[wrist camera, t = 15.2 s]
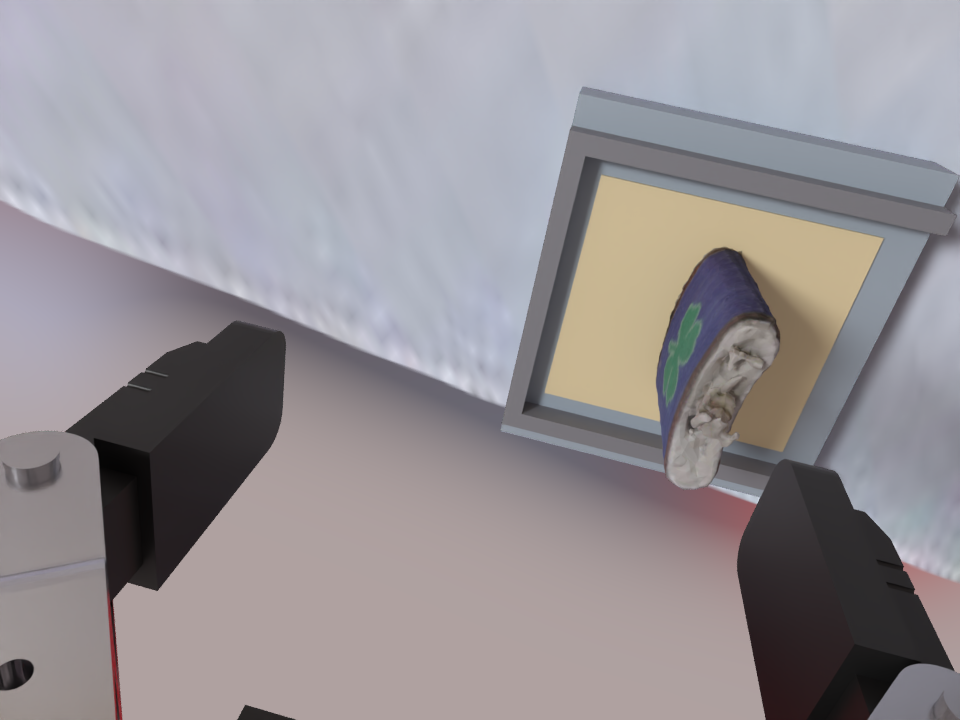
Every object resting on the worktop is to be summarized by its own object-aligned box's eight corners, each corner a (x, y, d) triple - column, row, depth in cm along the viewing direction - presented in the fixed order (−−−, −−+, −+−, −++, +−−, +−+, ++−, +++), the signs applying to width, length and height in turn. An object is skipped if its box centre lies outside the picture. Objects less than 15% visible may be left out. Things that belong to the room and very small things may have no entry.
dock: (582, 86, 37) (577, 97, 33) (935, 162, 36) (973, 183, 32) (507, 406, 46) (496, 444, 43) (783, 475, 45) (798, 521, 41)
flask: (691, 402, 40) (710, 525, 31) (641, 388, 41) (645, 505, 31) (757, 252, 36) (803, 342, 27) (700, 237, 36) (726, 320, 27)
